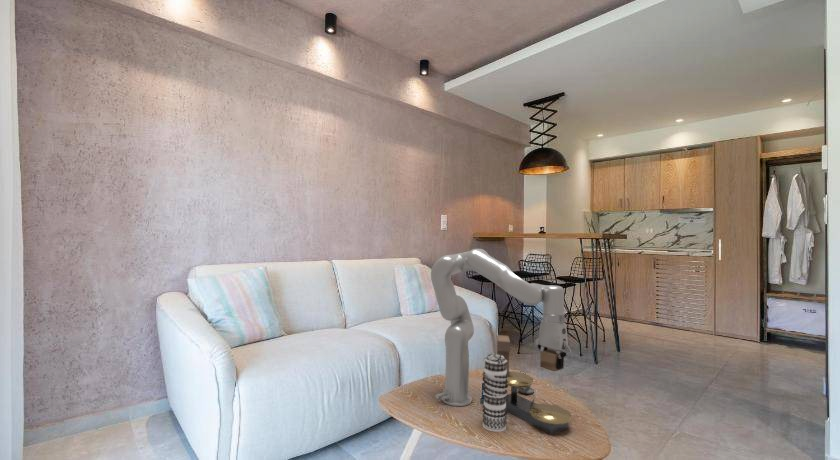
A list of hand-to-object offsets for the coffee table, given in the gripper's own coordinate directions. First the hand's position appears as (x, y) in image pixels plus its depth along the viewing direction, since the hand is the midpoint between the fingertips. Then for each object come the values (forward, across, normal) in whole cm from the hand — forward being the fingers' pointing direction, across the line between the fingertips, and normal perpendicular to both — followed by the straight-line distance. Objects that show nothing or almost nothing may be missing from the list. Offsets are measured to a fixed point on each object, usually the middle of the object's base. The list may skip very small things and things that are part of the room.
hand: (552, 365), depth 145 cm
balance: (+19, +4, +6) cm, 21 cm away
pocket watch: (+20, +21, -10) cm, 30 cm away
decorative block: (+20, +36, -13) cm, 43 cm away
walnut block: (+1, 0, 0) cm, 1 cm away
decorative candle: (+20, +7, +23) cm, 31 cm away
